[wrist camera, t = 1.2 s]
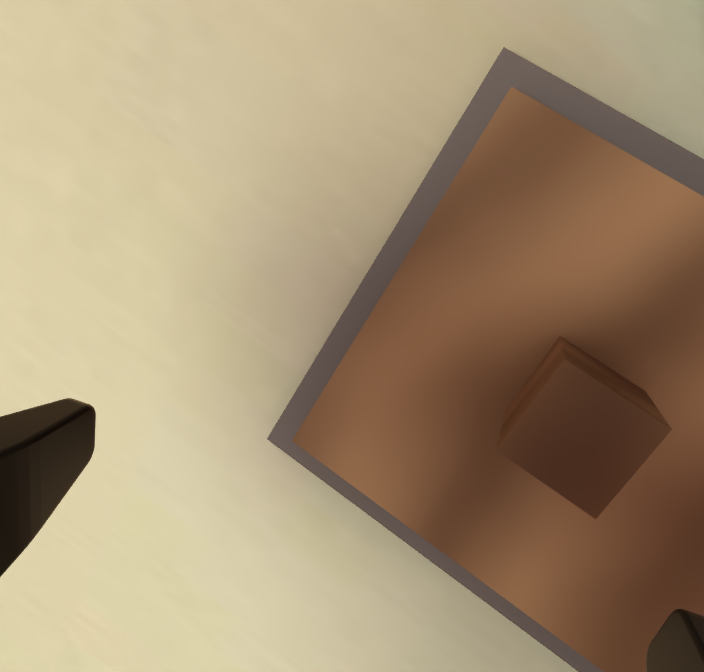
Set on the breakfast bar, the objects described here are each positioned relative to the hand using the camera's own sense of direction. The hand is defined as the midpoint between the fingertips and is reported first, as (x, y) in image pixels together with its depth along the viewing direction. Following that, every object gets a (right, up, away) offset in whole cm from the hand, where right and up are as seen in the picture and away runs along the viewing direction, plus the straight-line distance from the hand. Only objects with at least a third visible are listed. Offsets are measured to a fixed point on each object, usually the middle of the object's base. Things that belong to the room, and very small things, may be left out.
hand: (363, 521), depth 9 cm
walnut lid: (+7, +1, +11) cm, 13 cm away
